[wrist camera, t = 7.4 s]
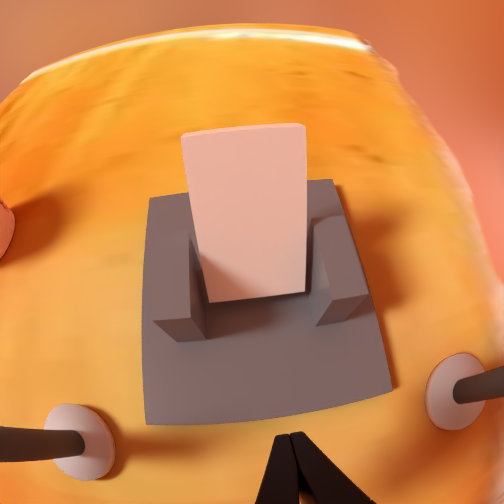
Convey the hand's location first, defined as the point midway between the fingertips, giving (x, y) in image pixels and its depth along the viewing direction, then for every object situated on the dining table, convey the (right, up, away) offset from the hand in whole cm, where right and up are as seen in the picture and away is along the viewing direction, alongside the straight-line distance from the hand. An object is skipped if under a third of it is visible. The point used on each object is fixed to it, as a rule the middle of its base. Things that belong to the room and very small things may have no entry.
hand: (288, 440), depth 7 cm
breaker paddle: (-1, +3, +12) cm, 12 cm away
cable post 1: (-13, -8, +7) cm, 17 cm away
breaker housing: (-1, +2, +13) cm, 13 cm away
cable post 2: (+14, -5, +9) cm, 17 cm away
